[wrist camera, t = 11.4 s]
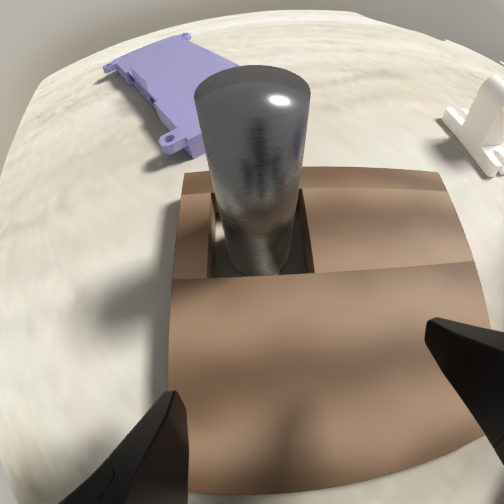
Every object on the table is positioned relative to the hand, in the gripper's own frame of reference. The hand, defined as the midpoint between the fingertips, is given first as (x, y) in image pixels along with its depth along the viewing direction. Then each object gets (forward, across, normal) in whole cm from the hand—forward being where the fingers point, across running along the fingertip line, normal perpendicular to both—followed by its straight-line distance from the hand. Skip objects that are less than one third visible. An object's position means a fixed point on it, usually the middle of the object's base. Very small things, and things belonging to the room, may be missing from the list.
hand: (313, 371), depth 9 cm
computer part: (+29, +4, -18) cm, 34 cm away
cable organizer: (+18, -29, -6) cm, 34 cm away
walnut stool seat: (+8, -4, +3) cm, 9 cm away
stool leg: (+12, 0, -1) cm, 12 cm away
